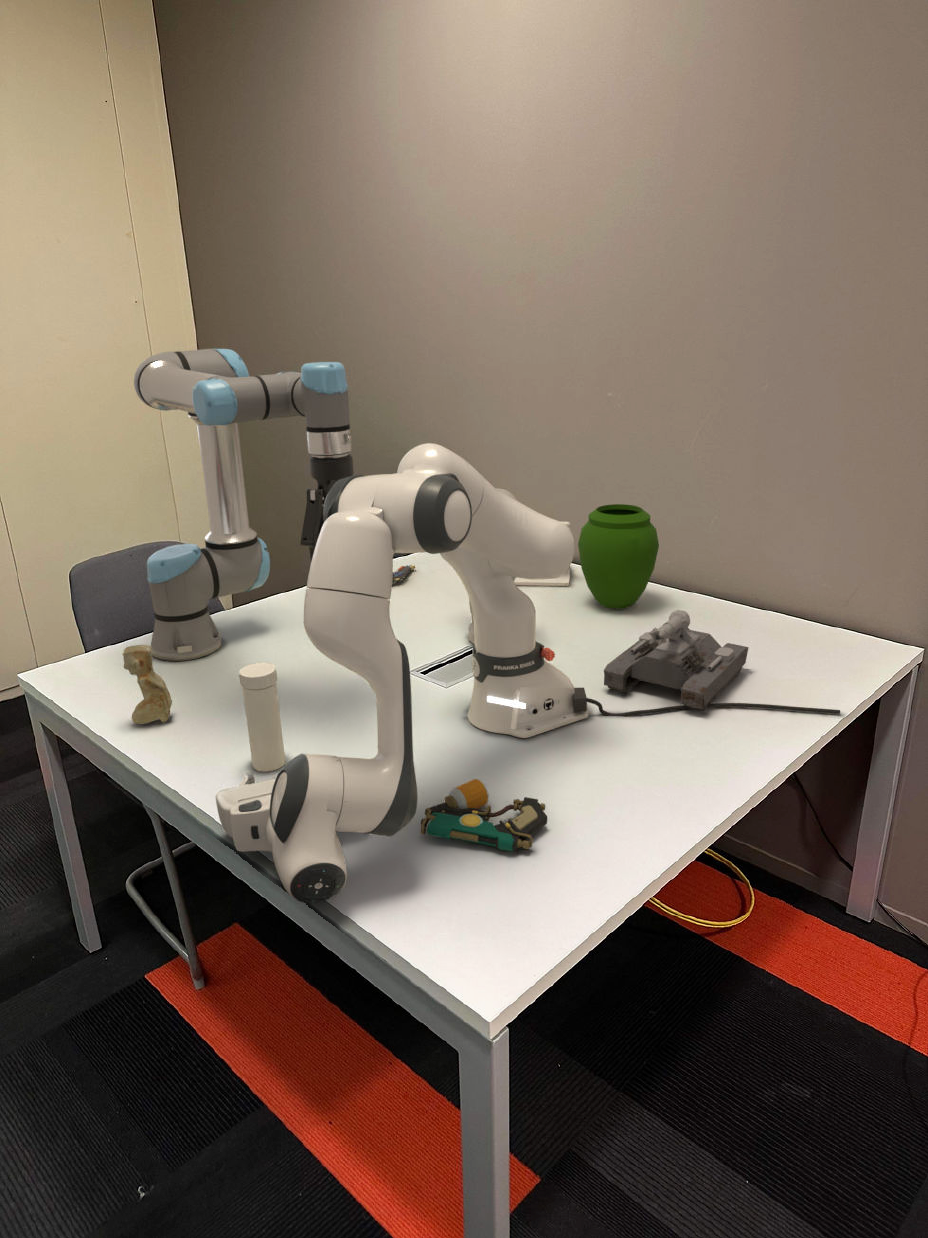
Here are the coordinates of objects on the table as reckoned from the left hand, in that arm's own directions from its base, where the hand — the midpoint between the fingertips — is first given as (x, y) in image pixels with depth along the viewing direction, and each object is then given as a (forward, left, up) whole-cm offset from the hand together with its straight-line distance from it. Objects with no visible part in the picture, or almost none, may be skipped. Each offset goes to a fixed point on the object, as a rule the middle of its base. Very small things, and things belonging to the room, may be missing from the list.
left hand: (340, 571), depth 156 cm
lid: (+7, -24, -10) cm, 27 cm away
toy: (+42, +49, -27) cm, 70 cm away
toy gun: (-53, +58, -27) cm, 83 cm away
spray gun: (+47, -14, -27) cm, 56 cm away
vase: (+8, +79, -27) cm, 84 cm away
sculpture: (-24, -29, -27) cm, 46 cm away
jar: (+7, -24, -27) cm, 37 cm away
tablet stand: (-25, +84, -27) cm, 92 cm away
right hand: (+18, -29, -22) cm, 41 cm away
